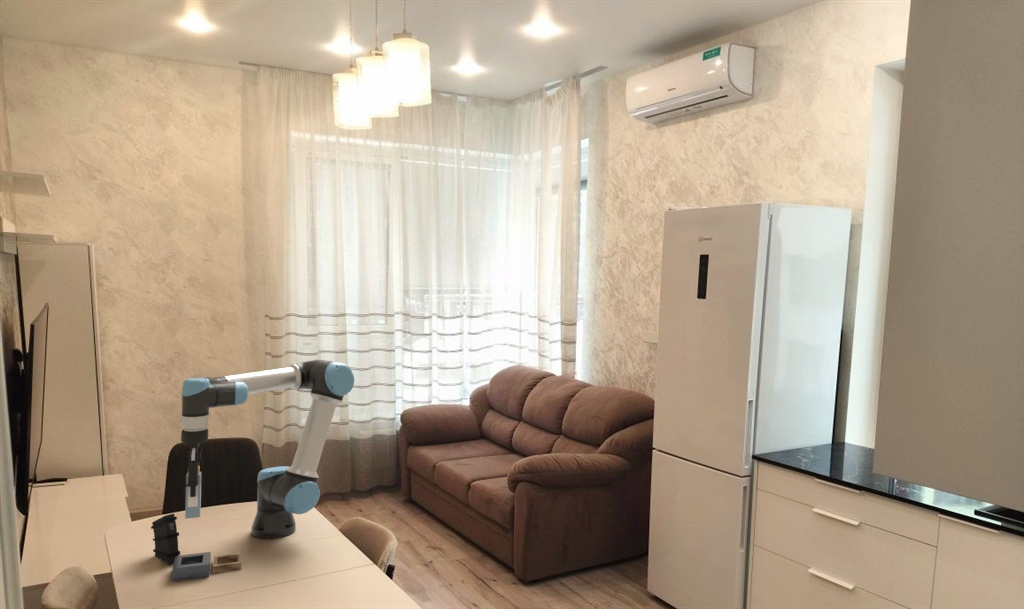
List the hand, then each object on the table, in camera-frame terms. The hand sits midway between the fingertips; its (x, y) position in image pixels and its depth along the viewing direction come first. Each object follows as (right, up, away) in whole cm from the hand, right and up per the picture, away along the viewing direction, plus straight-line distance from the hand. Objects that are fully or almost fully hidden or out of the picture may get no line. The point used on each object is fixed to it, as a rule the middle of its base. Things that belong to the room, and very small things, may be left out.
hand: (193, 504), depth 197 cm
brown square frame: (+8, -22, +6) cm, 24 cm away
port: (-1, -21, 0) cm, 21 cm away
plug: (0, -4, 0) cm, 4 cm away
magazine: (-14, -21, +10) cm, 28 cm away
